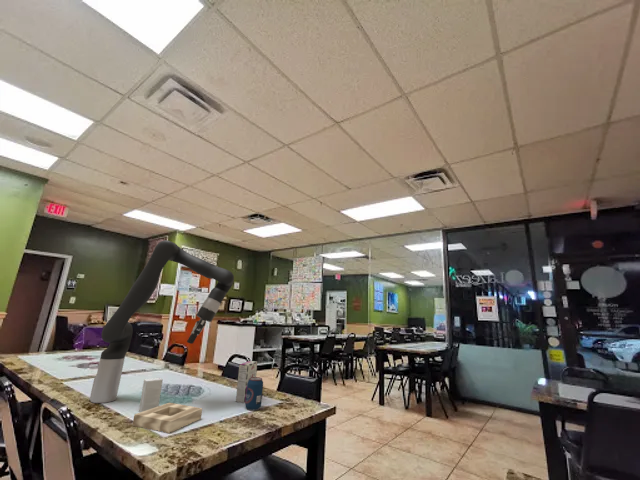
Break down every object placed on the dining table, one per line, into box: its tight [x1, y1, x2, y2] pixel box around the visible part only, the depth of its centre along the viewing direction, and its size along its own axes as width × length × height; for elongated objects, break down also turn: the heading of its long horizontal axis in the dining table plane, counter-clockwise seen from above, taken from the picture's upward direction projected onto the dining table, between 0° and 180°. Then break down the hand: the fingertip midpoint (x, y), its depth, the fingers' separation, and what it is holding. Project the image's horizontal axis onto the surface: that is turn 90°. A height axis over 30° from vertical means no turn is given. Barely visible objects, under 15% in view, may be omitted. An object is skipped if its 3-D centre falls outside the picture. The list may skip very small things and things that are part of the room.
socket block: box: [131, 402, 203, 434], centre depth 108 cm, size 16×16×4 cm
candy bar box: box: [235, 360, 258, 404], centre depth 142 cm, size 11×5×16 cm, turn 168°
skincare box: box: [138, 377, 163, 413], centre depth 118 cm, size 6×4×12 cm
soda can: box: [244, 376, 264, 411], centre depth 129 cm, size 7×7×12 cm
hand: (189, 343), depth 131 cm, fingers open, 8 cm apart
